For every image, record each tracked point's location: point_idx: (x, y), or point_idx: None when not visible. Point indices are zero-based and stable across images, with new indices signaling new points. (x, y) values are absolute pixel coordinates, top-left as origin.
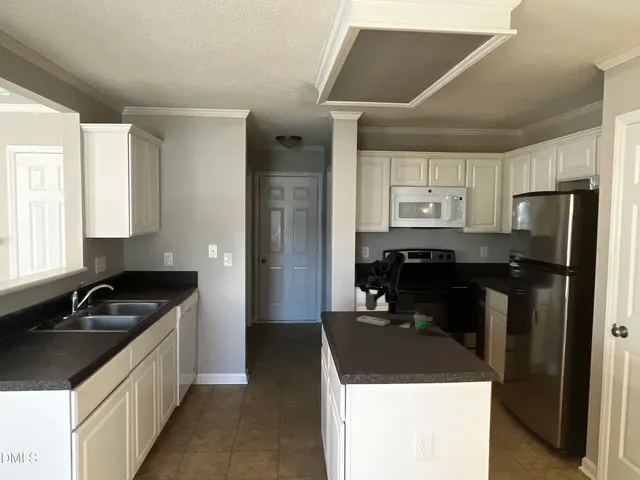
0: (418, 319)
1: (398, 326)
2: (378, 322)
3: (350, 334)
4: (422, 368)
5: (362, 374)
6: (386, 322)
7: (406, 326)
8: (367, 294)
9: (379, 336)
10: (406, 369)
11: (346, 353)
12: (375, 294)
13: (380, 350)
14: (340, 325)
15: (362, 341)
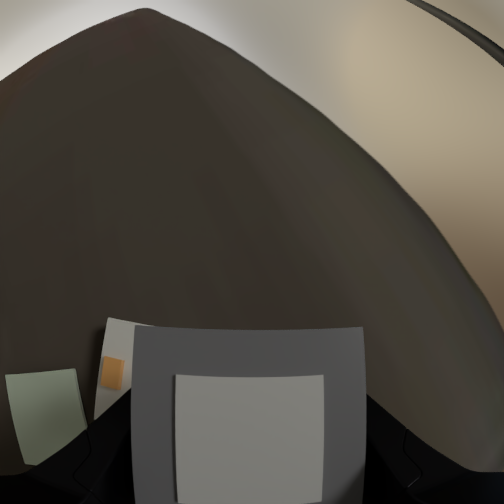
0: None
1: (47, 372)
2: (146, 325)
3: (232, 119)
4: (30, 66)
5: (122, 14)
6: (102, 365)
7: (17, 391)
8: (320, 342)
9: (106, 156)
10: (55, 50)
11: (172, 31)
12: (140, 459)
13: (95, 70)
14: (365, 220)
15: (157, 86)
